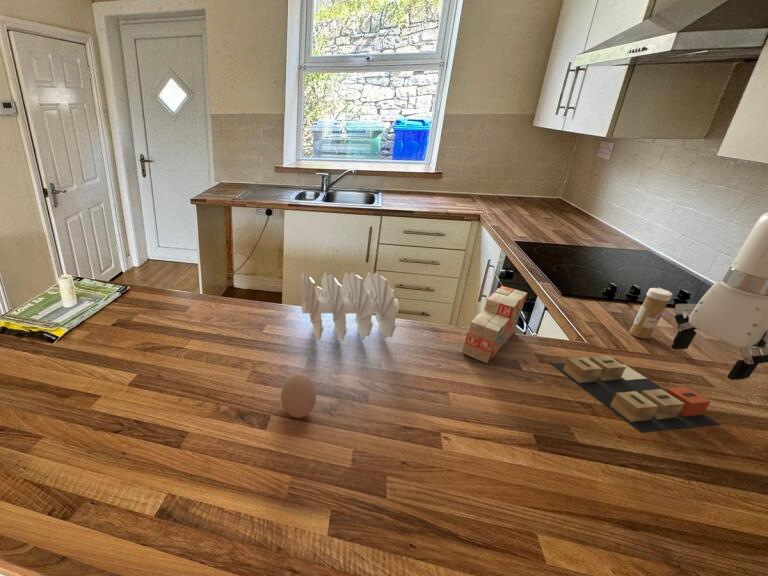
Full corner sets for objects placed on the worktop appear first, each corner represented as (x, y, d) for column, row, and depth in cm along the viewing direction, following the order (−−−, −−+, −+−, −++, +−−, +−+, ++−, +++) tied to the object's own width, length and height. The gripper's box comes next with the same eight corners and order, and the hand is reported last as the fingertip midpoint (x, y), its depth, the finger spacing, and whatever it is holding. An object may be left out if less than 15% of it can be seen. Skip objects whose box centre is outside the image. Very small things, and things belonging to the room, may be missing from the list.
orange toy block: (678, 399, 85) (686, 386, 83) (702, 415, 81) (711, 401, 79) (659, 401, 84) (667, 387, 83) (683, 416, 80) (691, 402, 79)
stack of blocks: (487, 364, 96) (502, 320, 91) (460, 353, 100) (473, 310, 95) (514, 332, 110) (528, 292, 104) (489, 323, 114) (502, 284, 108)
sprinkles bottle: (647, 341, 107) (670, 296, 101) (625, 333, 110) (647, 289, 104) (652, 336, 109) (675, 291, 103) (631, 328, 112) (652, 285, 107)
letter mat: (615, 360, 98) (616, 358, 98) (719, 426, 79) (721, 424, 78) (549, 365, 96) (550, 363, 96) (639, 435, 76) (641, 432, 76)
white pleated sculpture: (392, 353, 107) (301, 354, 104) (376, 300, 118) (292, 299, 115) (421, 313, 93) (316, 312, 90) (399, 258, 104) (305, 255, 101)
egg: (291, 398, 84) (293, 359, 80) (319, 411, 81) (324, 372, 77) (273, 416, 79) (275, 377, 75) (303, 432, 76) (307, 391, 72)
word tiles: (602, 367, 95) (608, 354, 93) (676, 417, 80) (685, 403, 78) (562, 370, 93) (567, 357, 92) (630, 421, 79) (638, 407, 77)
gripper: (844, 305, 63) (779, 391, 70) (716, 263, 78) (674, 337, 86) (805, 306, 62) (743, 393, 69) (684, 264, 77) (644, 339, 85)
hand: (705, 362), depth 78 cm, fingers open, 9 cm apart
